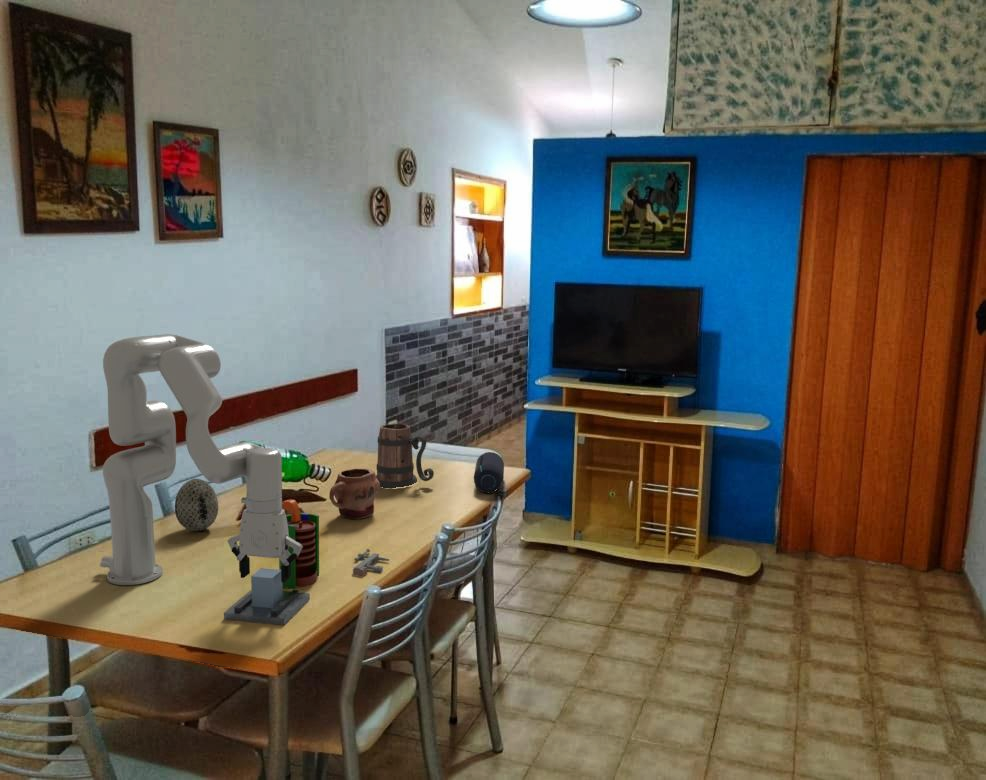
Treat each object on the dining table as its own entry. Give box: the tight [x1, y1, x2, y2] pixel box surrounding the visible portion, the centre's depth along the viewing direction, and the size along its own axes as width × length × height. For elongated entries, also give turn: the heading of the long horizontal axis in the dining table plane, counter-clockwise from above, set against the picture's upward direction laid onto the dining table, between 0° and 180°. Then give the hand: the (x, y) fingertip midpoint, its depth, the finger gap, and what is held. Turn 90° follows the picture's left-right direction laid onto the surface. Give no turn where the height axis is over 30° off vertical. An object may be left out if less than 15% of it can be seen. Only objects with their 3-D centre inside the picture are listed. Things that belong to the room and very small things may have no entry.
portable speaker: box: [473, 451, 505, 493], centre depth 294 cm, size 25×10×10 cm, turn 179°
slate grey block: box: [250, 567, 284, 608], centre depth 192 cm, size 5×7×7 cm
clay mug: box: [328, 468, 381, 520], centre depth 257 cm, size 20×12×14 cm, turn 152°
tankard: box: [375, 423, 435, 489], centre depth 294 cm, size 24×17×20 cm
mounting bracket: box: [223, 588, 311, 626], centre depth 191 cm, size 14×14×2 cm
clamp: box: [352, 548, 390, 577], centre depth 219 cm, size 15×2×10 cm
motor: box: [278, 499, 320, 590], centre depth 207 cm, size 10×9×20 cm
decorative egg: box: [174, 478, 219, 532], centre depth 243 cm, size 12×12×15 cm
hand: (265, 578), depth 191 cm, fingers open, 9 cm apart
